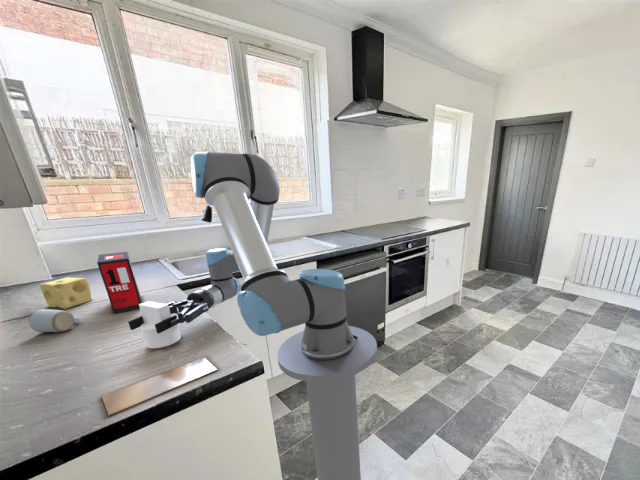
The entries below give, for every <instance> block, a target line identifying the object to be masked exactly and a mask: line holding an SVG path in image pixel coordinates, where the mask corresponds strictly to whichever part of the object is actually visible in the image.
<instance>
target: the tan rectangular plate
mask: <svg viewBox="0 0 640 480" xmlns="http://www.w3.org/2000/svg"><path fill="white" fill-rule="evenodd" d="M217 371H218V368H217V367H216V366H215V365H214V364H212V362H210V360H208V359H207V358H206V357H205V356H204V357H201V358H198V359H196V360H194V361H191V362H188V363H186V364H183V365H181V366H178V367H176V368H173V369H170V370H168V371H165V372H162V373H159V374H157V375H155V376H152V377H149V378H147V379H144V380H142V381H139V382H136V383H133V384H131V385H129V386H125V387H124V388H120V389H118V390H116V391H113V392H111V393H108V394H105V395H103V396H101V398H102V401H103V404H104V407H105V409H106V412H107V415H108V417H110V416H113V415H115V414H118V413H120V412H122V411H124V410H127V409H130V408H132V407H135V406H137V405H138V404H141V403H143V402H146V401H148V400H152V399H153V398H156V397H158V396H160V395H163V394H165V393H168V392H169V391H172V390H175V389H177V388H179V387H182V386H184V385H187V384H189V383H191V382H194V381H196V380H198V379H200V378H203V377H205V376H208V375H210V374H213V373H214V372H217Z"/></svg>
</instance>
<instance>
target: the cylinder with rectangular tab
mask: <svg viewBox="0 0 640 480" xmlns="http://www.w3.org/2000/svg"><path fill="white" fill-rule="evenodd" d="M139 307H140V308H139V310H140V313H141V316H142V317H143V320H144V323H143V324H142V325H141V326H140V327H139V329H140V332H141V335H142V338H143V342H144V346H145V347H146V348H147V349H160V348H164V347H168V346H170V345H173V344H175V343H177V342H178V341H179V340H181V338H182V335H181V331H180V327H179V324H177V325H175V326H173V327H171V328H169V329H167V330H165V331H163V332H161V333H157V331H156V328H155V324H157V323H159V322H161V321H163V320H165V319H168V318H170V317H172V314H170V310H169V306H168V304H167V303H162V302H156V301H151V300H148V301H144V302H142V303H141V304H139Z"/></svg>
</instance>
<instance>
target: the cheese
mask: <svg viewBox="0 0 640 480" xmlns="http://www.w3.org/2000/svg"><path fill="white" fill-rule="evenodd" d="M39 287H40V290H41V292H42V295H43V298H44V300H45V302H46V304H47V306H48V308H59V309H62V310H66V309H70V308H72V307H74V306H78V305H82V304H85V303H88V302H92V300H93V299H92V291H91V286H90V284H89V282H88V281H87V279H86V277H69V276H68V277H62V278H59V279H55V280H51V281H48V282H47V281H46V282H43V283H40V284H39Z"/></svg>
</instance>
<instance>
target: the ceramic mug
mask: <svg viewBox="0 0 640 480" xmlns="http://www.w3.org/2000/svg"><path fill="white" fill-rule="evenodd" d="M28 323H29V326H30V328H31V329H32V330H33V331H34V332H37V333H62V332H66V331H68V330H70V329H71V328H72V327H73V326H74V324H80V318H75V317H74V315H73V314H72V313H71V312H69V311H67V310H64V309H48V308H41V309H37V310H35V311H34V312H32V313H31V315H30V316H29V320H28Z"/></svg>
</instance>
